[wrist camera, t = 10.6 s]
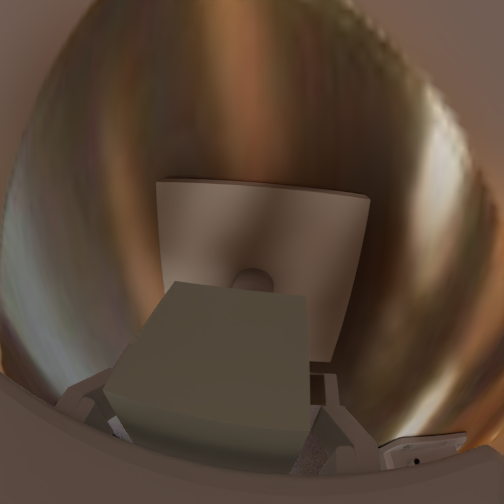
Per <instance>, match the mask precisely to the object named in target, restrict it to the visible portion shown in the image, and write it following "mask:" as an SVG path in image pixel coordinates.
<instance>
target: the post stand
mask: <svg viewBox="0 0 504 504" xmlns="http://www.w3.org/2000/svg"><path fill="white" fill-rule="evenodd" d="M156 197H157V216H158V231H159V244H160V255H161V265H162V275H163V283H164V292H165V294H166V293H167V291H168V290H169V288H170V287H171V286H172V284H173V283H174V281H179V282H187V283H194V284H202V285H209V286H217V287H226V288H234V289H243V290H251V291H261V292H270V293H280V294H290V295H300V296H306V304H307V321H308V342H309V361H316V362H331V359H332V356H333V353H334V350H335V347H336V343H337V340H338V337H339V334H340V330H341V327H342V324H343V320H344V317H345V313H346V310H347V306H348V303H349V299H350V295H351V291H352V287H353V283H354V279H355V275H356V271H357V267H358V262H359V258H360V253H361V249H362V244H363V239H364V234H365V229H366V224H367V218H368V213H369V207H370V201H371V199H369V198H368V197H367V196H366V195H363V194H356V193H349V192H342V191H334V190H327V189H318V188H310V187H300V186H290V185H280V184H269V183H256V182H242V181H226V180H205V179H173V178H164V179H162V180H159V181H157V182H156Z"/></svg>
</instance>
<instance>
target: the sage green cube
mask: <svg viewBox="0 0 504 504" xmlns="http://www.w3.org/2000/svg"><path fill="white" fill-rule="evenodd" d="M102 390H103V392H104V394H105V396H106V397H107V399H108V401H109V403H110V405H111V407H112V408H113V410H114V412H115V414H116V415H117V417H118V419H119V420H120V422H121V424H122V425H123V427H124V429H125V430H126V432H127V433H128V435H129V436H130V438H131V440H132V441H133V443H134V444H136V445H139V446H142V447H145V448H148V449H151V450H155V451H158V452H161V453H164V454H168V455H171V456H175V457H179V458H183V459H187V460H191V461H195V462H200V463H204V464H209V465H214V466H220V467H226V468H232V469H238V470H246V471H254V472H263V473H275V474H289V472H290V470H291V468H292V467H293V465H294V463H295V461H296V459H297V457H298V455H299V453H300V451H301V449H302V447H303V445H304V443H305V441H306V439H307V437H308V435H309V433H310V368H309V342H308V321H307V304H306V296H300V295H290V294H280V293H270V292H261V291H251V290H243V289H234V288H226V287H217V286H209V285H202V284H194V283H187V282H179V281H174V283H173V284H172V286H171V287H170V288H169V290H168V291H167V293H166V294H165V296H164V297H163V298H162V300H161V301H160V303H159V304H158V306H157V307H156V308H155V310H154V311H153V313H152V314H151V316H150V317H149V319H148V320H147V322H146V323H145V325H144V326H143V327H142V329H141V330H140V332H139V333H138V335H137V336H136V338H135V339H134V341H133V342H132V344H131V345H130V347H129V349H128V350H127V352H126V353H125V355H124V356H123V358H122V359H121V361H120V362H119V364H118V365H117V367H116V369H115V370H114V372H113V373H112V375H111V377H110V378H109V380H108V381H107V383H106V384H105V386H104V388H103V389H102Z"/></svg>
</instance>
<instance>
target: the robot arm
mask: <svg viewBox="0 0 504 504" xmlns="http://www.w3.org/2000/svg"><path fill="white" fill-rule="evenodd" d="M130 345H131V344H129V345H128V346H127V347H126V349H125V350H124V352H123V353H122V355H121V356H120V358H119V359H118V361H117V362H116V364H115V365H114V367H113V368H108V369H106V370H104V371H102V372H100V373H98V374H96V375H94V376H92V377H89V378H87V379H85V380H83V381H81V382H79V383H77V384H75V385H72V386H70V387H68V388H67V390H66V391H65V393H64V394H63V395H62V397H61V398H60V400H59V401H58V403H57V404H56V406H55V407H53V406H51V405H50V404H48V403H46V402H44V401H43V400H41V399H40V398H38V397H36V396H35V395H33V394H32V393H30V392H28V391H27V390H25V389H24V388H22V387H21V386H19V385H18V384H17V383H15V382H14V381H12V380H11V379H10V378H8V377H7V376H5V375H4V374H3V373H1V372H0V504H504V455H502V454H501V453H500V452H498V451H497V450H495V449H494V448H492V447H490V446H488V445H482V446H479V447H476V448H473V449H470V450H468V451H465V452H461V453H458V454H457V451H458V450H459V449H460V448H461V446H462V445H463V444H464V443H465V441H466V439H467V434H466V432H464V433H456V434H448V435H439V436H427V437H409V438H400V439H397V440H395V441H393V442H391V443H389V444H387V445H385V446H383V447H381V448H379V449H378V444H377V442H376V441H375V440H374V439H373V438H372V437H371V436H370V435H369V434H368V433H367V432H366V430H365V429H364V428H363V427H362V426H361V425H360V424H359V423H358V422H357V421H356V419H355V418H354V417H353V416H352V415H351V414H350V413H349V412H348V411H347V409H346V408H345V407H344V406H340V401H339V392H338V383H337V376H336V374H326V373H310V429H311V431H312V432H313V434H314V435H315V437H316V439H317V440H318V442H319V443H320V445H321V446H322V448H323V449H324V451H325V452H326V454H327V456H328V457H329V460H328V461H327V462H326V463H325V465H324V466H323V467H322V468H321V470H320V471H319V475H292V474H275V473H263V472H254V471H246V470H238V469H232V468H226V467H220V466H214V465H209V464H204V463H200V462H195V461H191V460H187V459H183V458H179V457H175V456H171V455H168V454H164V453H161V452H158V451H155V450H151V449H148V448H145V447H142V446H139V445H136V444H134V443H131V442H128V441H125V440H123V439H120V438H118V437H115V436H113V435H112V434H113V429H112V428H111V426H110V425H109V423H108V422H107V421H108V420H110V419H111V418H113V417H114V416H116V414H115V412H114V410H113V408H112V407H111V405H110V403H109V401H108V399H107V397H106V396H105V394H104V392H103V390H102V389H103V388H104V386H105V384H106V383H107V381H108V380H109V378H110V377H111V375H112V373H113V372H114V370H115V369H116V367H117V365H118V364H119V362H120V361H121V359H122V358H123V356H124V355H125V353H126V352H127V350H128V349H129V347H130Z"/></svg>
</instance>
